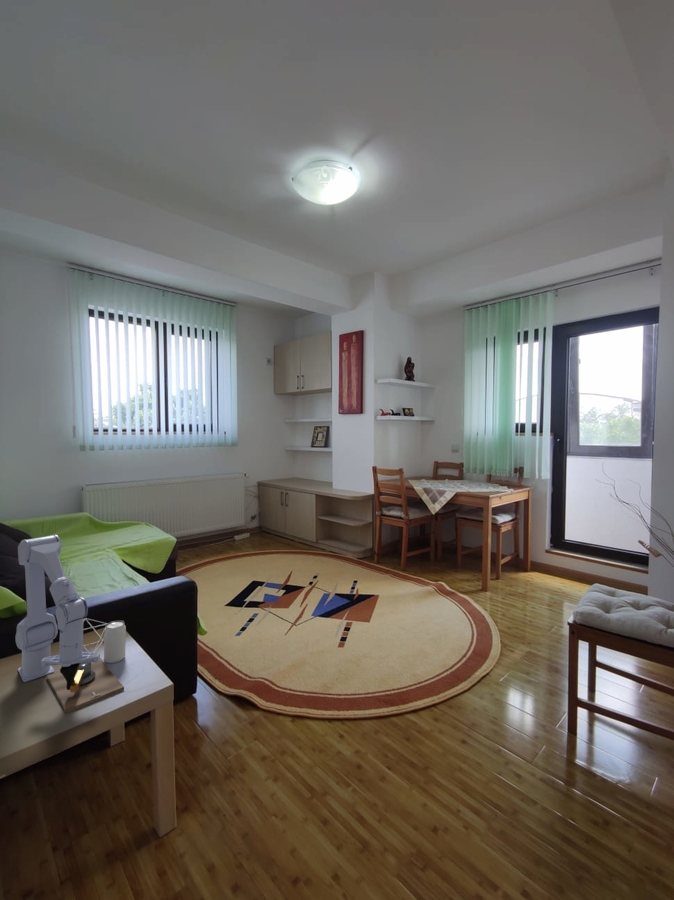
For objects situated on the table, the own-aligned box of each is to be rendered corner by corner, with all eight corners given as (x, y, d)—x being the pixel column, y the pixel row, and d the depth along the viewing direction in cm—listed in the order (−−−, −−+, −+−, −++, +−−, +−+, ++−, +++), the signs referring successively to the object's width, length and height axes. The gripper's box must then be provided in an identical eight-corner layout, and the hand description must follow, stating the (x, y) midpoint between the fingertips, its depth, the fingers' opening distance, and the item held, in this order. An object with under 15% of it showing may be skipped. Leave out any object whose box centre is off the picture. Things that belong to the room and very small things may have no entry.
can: (120, 651, 145) (121, 618, 144) (128, 658, 141) (129, 624, 140) (100, 658, 140) (101, 624, 139) (108, 666, 136) (109, 630, 135)
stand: (46, 678, 128) (46, 674, 128) (99, 660, 139) (99, 657, 139) (66, 713, 113) (66, 709, 113) (123, 689, 124) (124, 686, 124)
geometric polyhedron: (92, 638, 154) (92, 614, 153) (114, 643, 150) (114, 619, 150) (60, 654, 142) (60, 628, 141) (83, 661, 138) (83, 635, 138)
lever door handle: (72, 674, 128) (72, 661, 128) (97, 670, 131) (97, 658, 131) (59, 700, 116) (59, 687, 116) (87, 696, 118) (87, 682, 118)
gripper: (36, 651, 113) (35, 699, 113) (94, 646, 116) (93, 693, 117) (47, 638, 120) (47, 684, 120) (102, 634, 123) (101, 678, 124)
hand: (70, 687), depth 119 cm, fingers closed, pressing on lever door handle
